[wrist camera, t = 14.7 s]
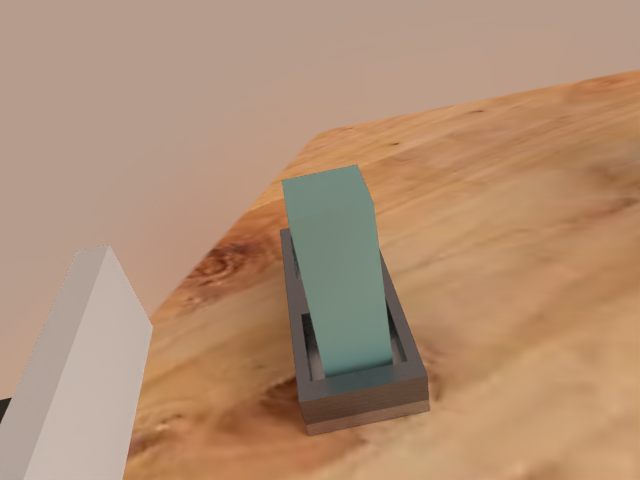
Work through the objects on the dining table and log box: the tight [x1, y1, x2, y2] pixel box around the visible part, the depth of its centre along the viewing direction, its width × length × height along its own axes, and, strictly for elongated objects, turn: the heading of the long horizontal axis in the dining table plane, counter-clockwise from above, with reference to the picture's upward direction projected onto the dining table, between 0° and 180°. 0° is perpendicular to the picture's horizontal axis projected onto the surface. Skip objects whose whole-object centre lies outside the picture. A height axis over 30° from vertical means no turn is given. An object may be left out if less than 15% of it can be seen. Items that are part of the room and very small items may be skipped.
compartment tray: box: [280, 228, 430, 436], centre depth 36 cm, size 17×7×3 cm, turn 7°
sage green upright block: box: [282, 165, 393, 378], centre depth 29 cm, size 4×4×12 cm
